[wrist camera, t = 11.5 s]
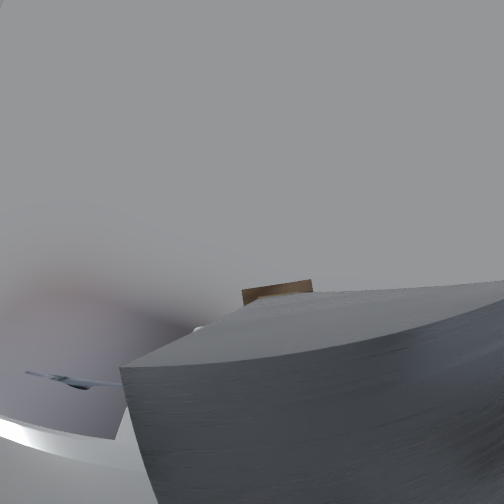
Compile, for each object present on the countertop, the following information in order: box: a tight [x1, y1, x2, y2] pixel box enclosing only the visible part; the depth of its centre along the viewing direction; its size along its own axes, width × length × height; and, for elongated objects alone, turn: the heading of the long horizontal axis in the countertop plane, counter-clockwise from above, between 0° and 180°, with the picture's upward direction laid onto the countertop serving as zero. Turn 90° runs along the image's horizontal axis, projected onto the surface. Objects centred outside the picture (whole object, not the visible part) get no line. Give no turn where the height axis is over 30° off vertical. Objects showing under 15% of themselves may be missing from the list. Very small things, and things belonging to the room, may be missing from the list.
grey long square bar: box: [119, 281, 504, 504], centre depth 13 cm, size 3×24×3 cm, turn 177°
